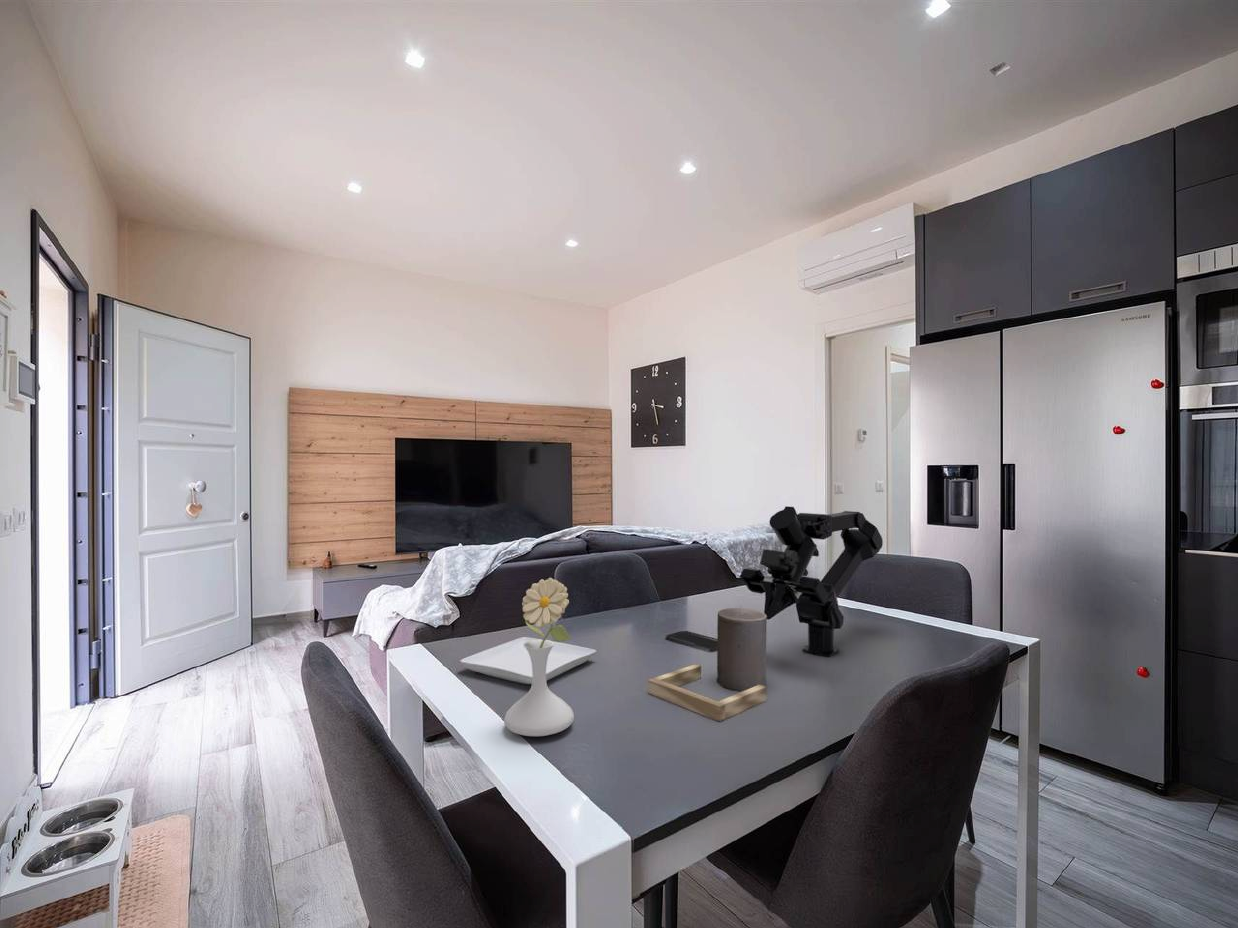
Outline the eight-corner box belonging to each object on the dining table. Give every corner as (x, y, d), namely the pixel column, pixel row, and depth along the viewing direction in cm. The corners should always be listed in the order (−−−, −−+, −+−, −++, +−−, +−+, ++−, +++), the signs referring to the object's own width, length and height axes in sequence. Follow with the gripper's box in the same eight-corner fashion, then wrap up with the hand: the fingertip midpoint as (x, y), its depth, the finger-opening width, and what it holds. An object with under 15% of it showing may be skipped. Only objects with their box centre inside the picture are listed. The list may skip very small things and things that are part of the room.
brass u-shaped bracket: (695, 676, 122) (695, 663, 122) (766, 700, 109) (766, 686, 109) (648, 692, 113) (648, 679, 113) (719, 721, 100) (719, 706, 100)
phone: (684, 630, 154) (731, 642, 143) (684, 634, 154) (731, 647, 143) (663, 636, 148) (710, 649, 137) (663, 640, 148) (710, 654, 137)
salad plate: (523, 648, 142) (523, 634, 142) (598, 663, 131) (598, 648, 131) (456, 675, 124) (456, 659, 124) (537, 695, 113) (537, 677, 113)
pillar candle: (706, 681, 119) (707, 606, 119) (736, 670, 125) (737, 598, 125) (747, 696, 112) (747, 616, 111) (776, 683, 118) (777, 607, 118)
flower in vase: (490, 727, 98) (490, 575, 98) (545, 708, 106) (545, 567, 106) (538, 755, 89) (538, 586, 89) (595, 731, 97) (594, 576, 97)
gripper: (744, 531, 135) (713, 587, 127) (820, 539, 121) (790, 602, 113) (765, 563, 140) (736, 618, 132) (840, 573, 126) (812, 636, 118)
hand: (766, 618), depth 124 cm, fingers closed
